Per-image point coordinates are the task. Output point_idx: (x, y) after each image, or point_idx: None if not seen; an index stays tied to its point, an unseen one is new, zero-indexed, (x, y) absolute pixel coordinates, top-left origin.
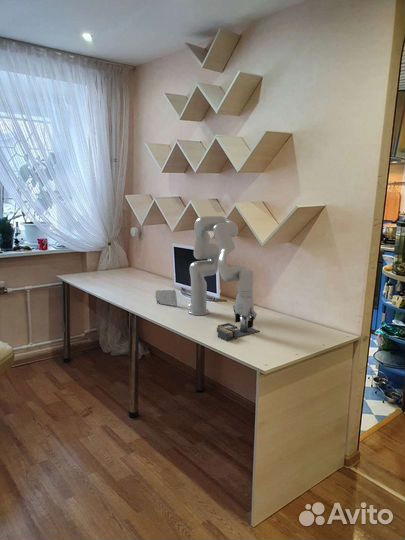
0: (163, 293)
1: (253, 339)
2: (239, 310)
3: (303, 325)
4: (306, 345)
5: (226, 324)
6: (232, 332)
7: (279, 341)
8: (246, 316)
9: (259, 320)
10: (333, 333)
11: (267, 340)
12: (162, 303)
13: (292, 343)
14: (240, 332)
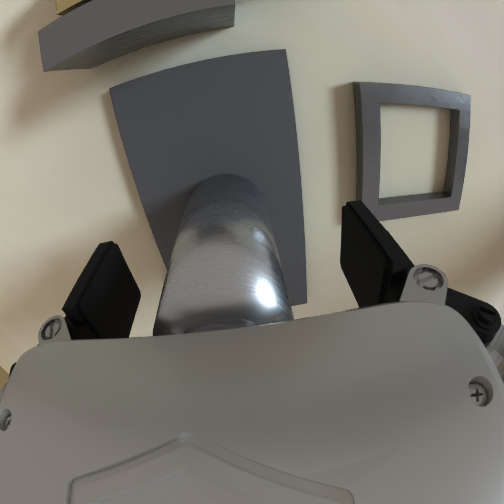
0: None
1: (45, 199)
2: (245, 441)
3: None
4: (10, 355)
5: (451, 177)
6: (57, 6)
7: (27, 313)
8: (40, 348)
9: None
10: None
11: (32, 273)
12: None
13: (16, 336)
14: (209, 164)
